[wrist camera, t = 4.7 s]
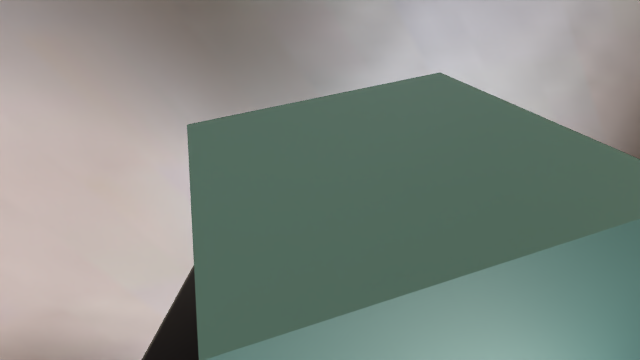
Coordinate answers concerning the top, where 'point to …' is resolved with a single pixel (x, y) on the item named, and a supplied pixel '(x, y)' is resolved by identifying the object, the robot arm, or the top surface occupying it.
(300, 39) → the top surface
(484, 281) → the teal painted block
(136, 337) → the top surface
